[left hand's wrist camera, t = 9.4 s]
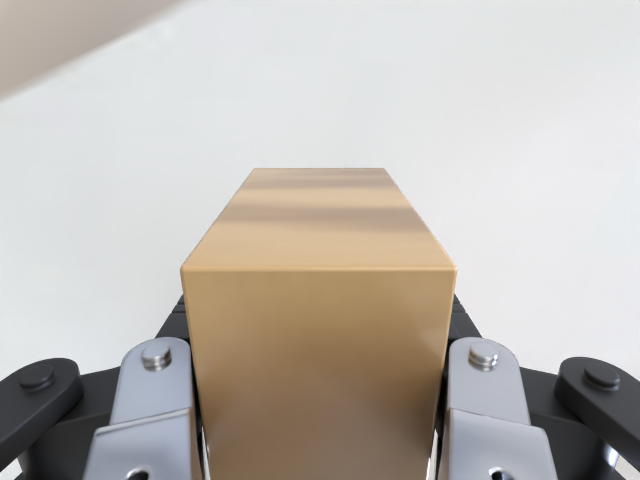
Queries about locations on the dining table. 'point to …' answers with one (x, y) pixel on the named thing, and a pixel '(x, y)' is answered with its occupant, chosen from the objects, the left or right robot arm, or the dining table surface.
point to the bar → (318, 328)
